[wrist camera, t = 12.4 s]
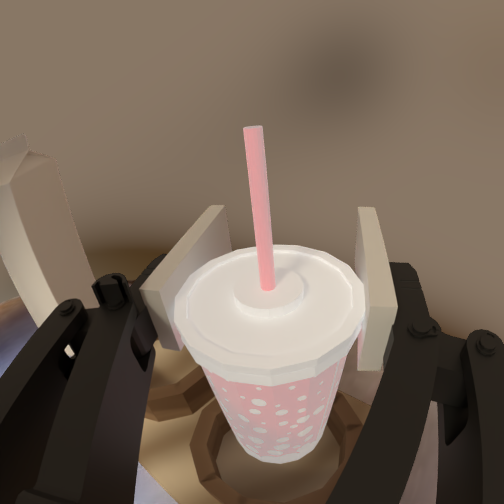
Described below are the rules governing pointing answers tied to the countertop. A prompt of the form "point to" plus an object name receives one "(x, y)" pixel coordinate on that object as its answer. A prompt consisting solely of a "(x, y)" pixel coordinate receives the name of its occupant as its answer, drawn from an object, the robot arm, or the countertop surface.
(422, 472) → the countertop surface
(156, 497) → the countertop surface
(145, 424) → the socket board
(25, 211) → the milk
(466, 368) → the robot arm
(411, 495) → the countertop surface
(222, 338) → the beverage cup
